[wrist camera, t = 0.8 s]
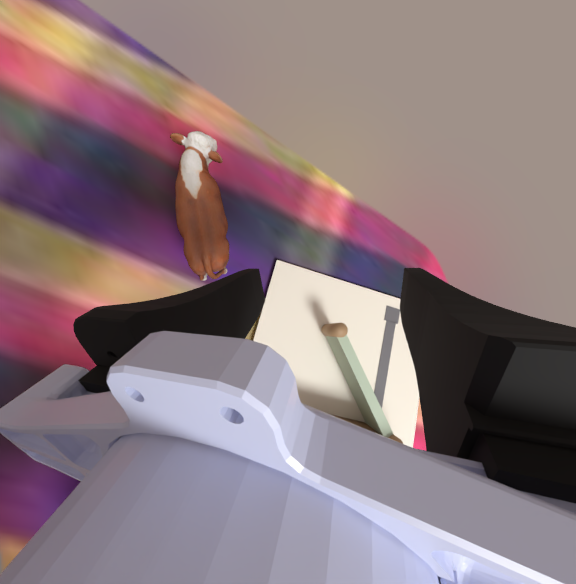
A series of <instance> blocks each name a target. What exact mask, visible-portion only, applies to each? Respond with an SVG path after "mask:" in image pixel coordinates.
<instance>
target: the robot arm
mask: <svg viewBox="0 0 576 584" xmlns="http://www.w3.org/2000/svg"><path fill="white" fill-rule="evenodd" d="M264 303H265V297H264V292H263V287H262V282H261V278H260V273H259V269H245V270H242V271H239V272H237V273H234V274H232V275H229V276H227V277H225V278H222V279H220V280H218V281H215V282H212V283H210V284H207V285H205V286H202V287H200V288H197V289H194V290H191V291H187V292H184V293H181V294H177V295H173V296H168V297H164V298H160V299H155V300H149V301H143V302H137V303H130V304H120V305H110V306H100V307H96V308H94V309H92V310H90V311H89V312H87V313H85V314H83V315H82V316H80V317H78V318H77V319H75V322H74V332H75V335H76V337H77V339H78V340H79V342H80V343H81V345H82V346H83V348H84V349H85V350H86V352H87V353H88V354H89V356H90V357H91V358H92V360H93V361H94V363H95V364H96V365H97V366H96V367H94V368H93V369H92V370H91V371H89V370H87V369H86V368H83V367H79V366H74V365H68V364H64V365H62V366H61V367H59V368H58V369H56V370H55V371H54V372H52V373H51V374H49V375H48V376H46V377H45V378H44V379H42V380H41V381H39V382H38V383H36V384H35V385H33V386H32V387H31V388H29V389H28V390H26V391H25V392H23V393H22V394H21V395H19V396H18V397H16V398H15V399H13V400H12V401H10V402H9V403H8V404H6V405H5V406H3V407H2V408H0V433H1V434H2V435H3V436H4V437H6V438H7V439H8V440H9V441H11V442H12V443H13V444H14V445H16V446H17V447H18V448H19V449H21V450H22V451H23V452H25V453H26V454H27V455H28V456H30V457H31V458H32V459H33V460H35V461H37V462H40V463H42V464H44V465H47V466H49V467H51V468H54V469H56V470H58V471H60V472H62V473H64V474H67V475H69V476H71V477H73V478H75V479H77V480H79V481H81V482H80V483H79V484H78V486H77V487H76V488H75V489H74V490H73V491H72V493H71V494H70V495H69V496H68V497H67V498H66V499H65V501H64V502H63V503H62V504H61V505H60V506H59V508H58V509H57V510H56V511H55V512H54V513H53V514H52V516H51V517H50V518H49V519H48V520H47V521H46V522H45V524H44V525H43V526H42V527H41V528H40V529H39V531H38V532H37V533H36V534H35V535H34V536H33V537H32V539H31V540H30V541H29V542H28V543H27V544H26V546H25V547H24V548H23V549H22V550H21V551H20V552H19V554H18V555H17V556H16V557H15V558H14V559H13V560H12V562H11V563H10V564H9V565H8V566H7V567H6V569H5V570H4V571H3V572H2V573H1V574H0V584H576V328H575V327H570V326H566V325H562V324H558V323H554V322H549V321H545V320H541V319H538V318H534V317H530V316H527V315H524V314H521V313H517V312H514V311H511V310H508V309H505V308H502V307H499V306H496V305H493V304H491V303H488V302H486V301H483V300H481V299H478V298H476V297H474V296H471V295H469V294H467V293H465V292H463V291H461V290H459V289H457V288H455V287H453V286H451V285H449V284H448V283H446V282H444V281H442V280H441V279H439V278H437V277H436V276H434V275H432V274H430V273H429V272H427V271H425V270H423V269H421V268H404V276H403V284H402V292H401V300H400V313H401V321H402V326H403V330H404V333H405V337H406V340H407V343H408V347H409V350H410V353H411V357H412V360H413V364H414V368H415V372H416V378H417V384H418V390H419V397H420V404H421V410H422V417H423V425H424V433H425V440H426V448H427V451H424V450H419V449H414V448H412V447H409V446H407V445H404V444H402V443H399V442H397V441H395V440H392V439H390V438H387V437H385V436H382V435H380V434H377V433H375V432H372V431H370V430H367V429H365V428H362V427H360V426H357V425H355V424H352V423H350V422H347V421H345V420H343V419H340V418H338V417H335V416H333V415H330V414H328V413H325V412H323V411H320V410H318V409H315V408H313V407H310V406H308V405H305V404H303V403H301V401H300V398H299V396H298V390H297V384H296V378H295V376H294V374H293V372H292V370H291V368H290V366H289V364H288V362H287V360H286V359H285V358H283V357H282V356H281V355H280V354H278V353H277V352H276V351H274V350H273V349H272V348H271V347H269V346H268V345H265V344H262V343H258V342H255V341H252V340H249V339H245V337H246V336H247V334H248V333H249V331H250V330H251V328H252V326H253V325H254V323H255V321H256V320H257V318H258V317H259V315H260V313H261V310H262V308H263V305H264Z"/></svg>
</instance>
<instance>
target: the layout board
mask: <svg viewBox="0 0 576 584" xmlns="http://www.w3.org/2000/svg"><path fill="white" fill-rule="evenodd" d="M400 300H401V299H399V298H396V297H393V296H389V295H386V294H383V293H380V292H377V291H374V290H371V289H367V288H364V287H361V286H358V285H355V284H352V283H349V282H345V281H342V280H339V279H336V278H333V277H330V276H326V275H323V274H320V273H317V272H314V271H311V270H308V269H304V268H301V267H298V266H295V265H292V264H289V263H286V262H282V261H279V260H277V261H276V264H275V267H274V271H273V274H272V278H271V281H270V285H269V288H268V291H267V295H266V298H265V303H264V305H263V309H262V312H261V315H260V319H259V322H258V326H257V329H256V333H255V336H254V339H253V341H255V342H258V343H262V344H265V345H268V346H269V347H271V348H272V349H273V350H274V351H276V352H277V353H278V354H280V355H281V356H282V357H283V358H285V359H286V360H287V362H288V364H289V366H290V368H291V370H292V372H293V374H294V376H295V378H296V384H297V390H298V396H299V398H300V401H301V403H303V404H305V405H308V406H310V407H313V408H315V409H318V410H320V411H323V412H325V413H328V414H332V415H336V416H340V417H345V418H349V419H353V420H357V421H361V422H365V420H364V418H363V416H362V414H361V412H360V410H359V407H358V405H357V403H356V401H355V399H354V397H353V395H352V392H351V390H350V388H349V386H348V384H347V382H346V379H345V377H344V375H343V373H342V371H341V369H340V366H339V364H338V362H337V360H336V358H335V356H334V353H333V351H332V349H331V347H330V345H329V343H328V341H327V338H326V336H324V335H323V334H322V331H321V329H322V326H323V325H325V324H331V323H344V324H345V325H346V326H347V328H348V332H347V336H348V338H349V341H350V343H351V345H352V347H353V349H354V351H355V353H356V355H357V358H358V360H359V362H360V364H361V366H362V368H363V370H364V372H365V374H366V377H367V379H368V381H369V383H370V385H371V387H372V389H373V391H374V394H375V396H376V398H377V400H378V402H379V404H380V406H381V408H382V411H383V413H384V415H385V417H386V419H387V421H388V423H389V425H390V427H391V430H392V432H393V434H394V435H395V436H397V437H398V438H399V439H401V440H402V442H403V444H404V445H407V446H409V447H412V448H413V442H414V434H415V427H416V419H417V411H418V404H419V390H418V384H417V378H416V372H415V368H414V364H413V360H412V357H411V353H410V350H409V347H408V343H407V340H406V337H405V333H404V330H403V326H402V321H401V313H400Z"/></svg>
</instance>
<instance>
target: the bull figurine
mask: <svg viewBox="0 0 576 584" xmlns="http://www.w3.org/2000/svg"><path fill="white" fill-rule="evenodd" d="M170 138H171V139H172V140H173V141H174V142H175V143H177V144H180V145H184V146H185V151H184V152H183V154H182V156H181V158H180V162H179V172H178V176H177V180H176V183H175V192H176V202H175V208H176V218H177V226H178V229H179V232H180V234H181V236H182V237H183V238H184V255H185V257H186V259H187V261H188V264H189V266H190V268H191V269H192V270H193V272H194V273H195V274H198V276H199V277H200V280H202V281H204V280H206V279H207V275H208V276H209V277H211V278H212V279H217V278H218V277H220V276H221V275H222V274H225V273H227V269H226V268H225V266H226V265H227V262H228V260H229V243H228V241H227V239H226V233H227V229H228V223H227V219H226V216H225V213H224V208H223V203H222V200H221V194H220V190H219V187H218V185H217V183H216V181H215V179H214V178H213V177H211V175H210V174H209V171H208V165H209V163H210V162H212V160H213V161H215V162H218V163H222V158H221V156H220V155H219V154H218V153H217V152H216V150H217V141H216V140H214V139H213V138H211V137H210V136H209V135H206V134H204V133H202V132H199V131H195V132H190V133H189V134H188V137H187V138H186V137H185V136H183V135H181V134H178V133H172V134H171V135H170ZM217 271H219V272H218V273H217V274H214V273H213V272H217Z"/></svg>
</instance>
